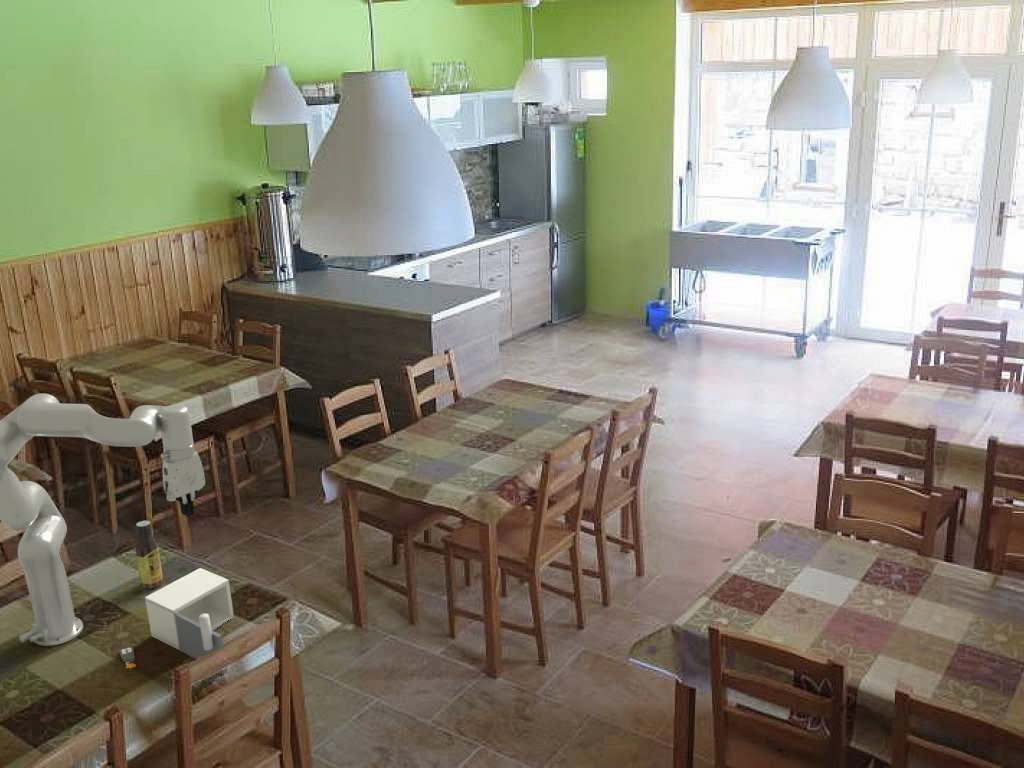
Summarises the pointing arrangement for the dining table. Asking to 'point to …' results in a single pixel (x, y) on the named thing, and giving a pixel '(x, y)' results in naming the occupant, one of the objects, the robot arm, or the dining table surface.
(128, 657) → the key chain
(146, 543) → the sauce bottle
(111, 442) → the robot arm
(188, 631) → the side door
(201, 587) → the case
